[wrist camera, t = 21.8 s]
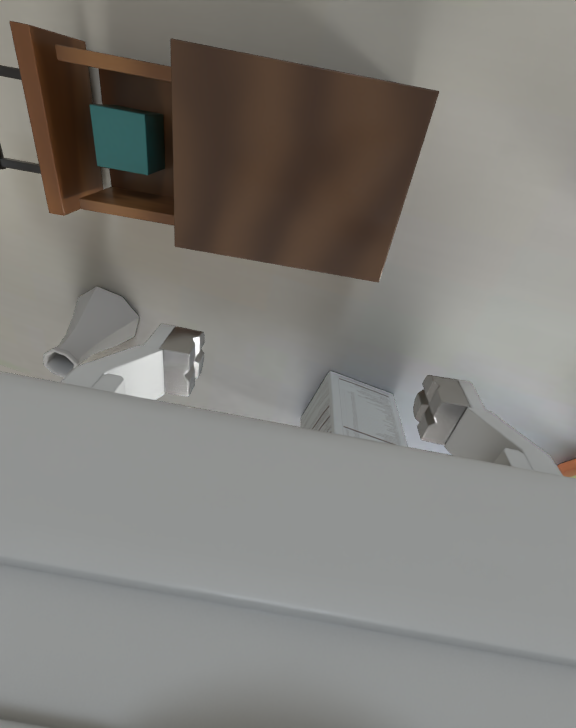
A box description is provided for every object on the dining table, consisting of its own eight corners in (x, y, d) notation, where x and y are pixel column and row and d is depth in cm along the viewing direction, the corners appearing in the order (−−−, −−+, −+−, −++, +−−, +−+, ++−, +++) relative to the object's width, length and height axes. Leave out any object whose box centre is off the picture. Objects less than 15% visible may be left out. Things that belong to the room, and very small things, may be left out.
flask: (67, 316, 43) (8, 364, 35) (93, 274, 40) (36, 316, 32) (121, 352, 46) (78, 405, 38) (150, 316, 43) (111, 364, 34)
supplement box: (298, 418, 50) (292, 534, 36) (328, 368, 45) (334, 481, 31) (360, 439, 52) (377, 559, 38) (396, 394, 47) (430, 512, 33)
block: (114, 104, 29) (88, 103, 26) (163, 114, 30) (144, 114, 26) (119, 160, 32) (96, 166, 28) (165, 169, 32) (148, 175, 29)
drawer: (31, 185, 34) (-25, 200, 29) (-6, 24, 28) (-86, 2, 22) (253, 225, 35) (242, 247, 30) (268, 77, 29) (257, 69, 23)
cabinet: (202, 220, 36) (174, 246, 29) (205, 56, 29) (170, 37, 22) (366, 249, 37) (378, 282, 30) (410, 96, 30) (439, 91, 22)
